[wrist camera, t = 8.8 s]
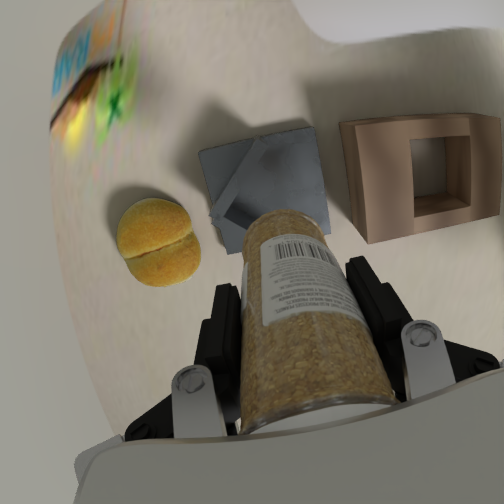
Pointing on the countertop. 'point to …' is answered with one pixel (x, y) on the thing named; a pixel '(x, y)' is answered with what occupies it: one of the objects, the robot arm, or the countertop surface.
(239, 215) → the v block
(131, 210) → the bread roll
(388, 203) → the wooden block with hole
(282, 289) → the sprinkles bottle
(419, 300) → the countertop surface
